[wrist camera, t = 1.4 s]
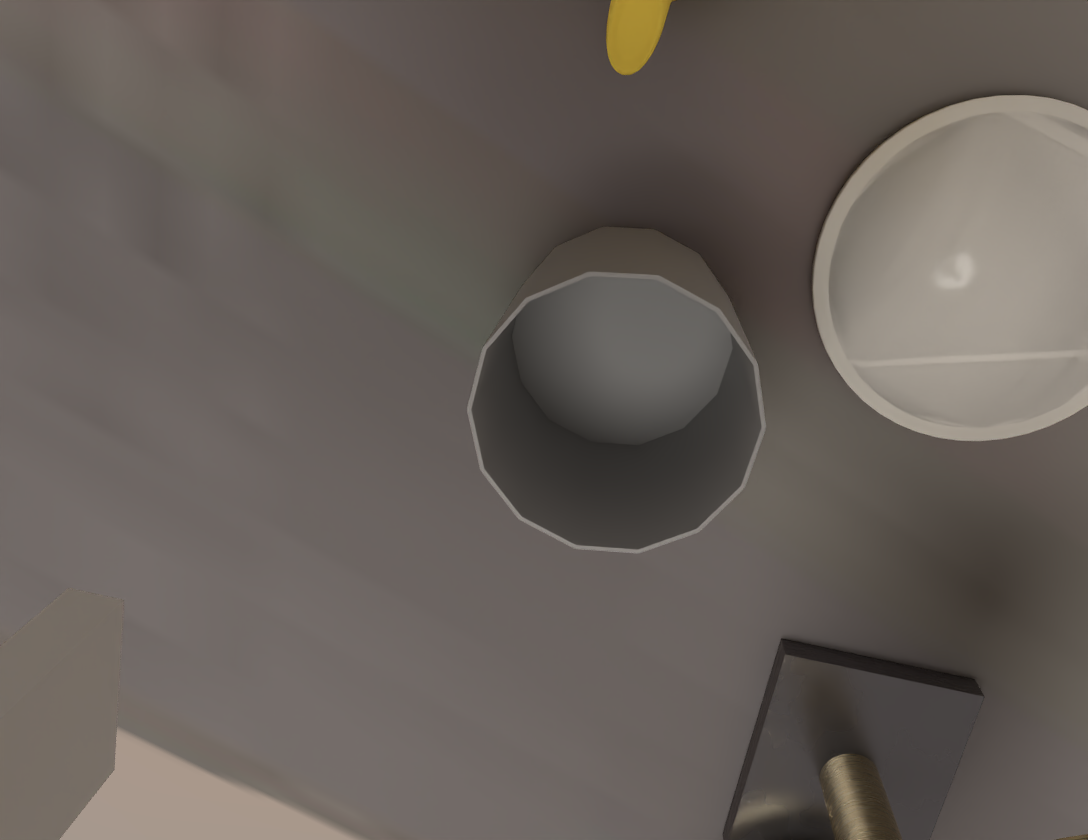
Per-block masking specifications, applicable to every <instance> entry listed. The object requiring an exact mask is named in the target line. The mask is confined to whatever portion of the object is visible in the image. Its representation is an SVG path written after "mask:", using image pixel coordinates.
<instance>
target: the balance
mask: <svg viewBox="0 0 1088 840" xmlns="http://www.w3.org/2000/svg"><path fill="white" fill-rule="evenodd" d="M983 699H984V695H983V693H982V691H981V690H980V688H979V686H978V684H977V683H976V681H975V680H973V679H968V678H964V677H959V676H954V675H949V674H945V673H940V672H935V671H930V670H926V669H921V668H916V667H912V666H907V665H902V664H897V663H893V662H888V661H883V660H879V659H874V658H869V657H864V656H860V655H855V654H850V653H846V652H841V651H836V650H831V649H827V648H822V647H817V646H813V645H808V644H803V643H798V642H794V641H789V640H784V639H781V642H780V645H779V648H778V651H777V655H776V658H775V661H774V665H773V668H772V671H771V675H770V678H769V681H768V685H767V688H766V691H765V695H764V698H763V701H762V705H761V708H760V711H759V715H758V718H757V721H756V725H755V728H754V731H753V734H752V738H751V741H750V744H749V748H748V751H747V754H746V758H745V761H744V764H743V768H742V771H741V774H740V778H739V781H738V784H737V788H736V791H735V794H734V798H733V801H732V804H731V808H730V811H729V814H728V818H727V821H726V824H725V827H724V831H723V840H930V837H931V834H932V832H933V829H934V827H935V824H936V822H937V819H938V816H939V814H940V811H941V809H942V806H943V803H944V801H945V798H946V796H947V793H948V790H949V788H950V785H951V783H952V780H953V777H954V775H955V772H956V770H957V767H958V764H959V762H960V759H961V757H962V754H963V751H964V749H965V746H966V744H967V741H968V738H969V736H970V733H971V731H972V728H973V725H974V723H975V720H976V718H977V715H978V712H979V710H980V707H981V705H982V702H983ZM1056 840H1088V834H1086V835H1080V836H1073V837H1066V838H1060V839H1056Z"/></svg>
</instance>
